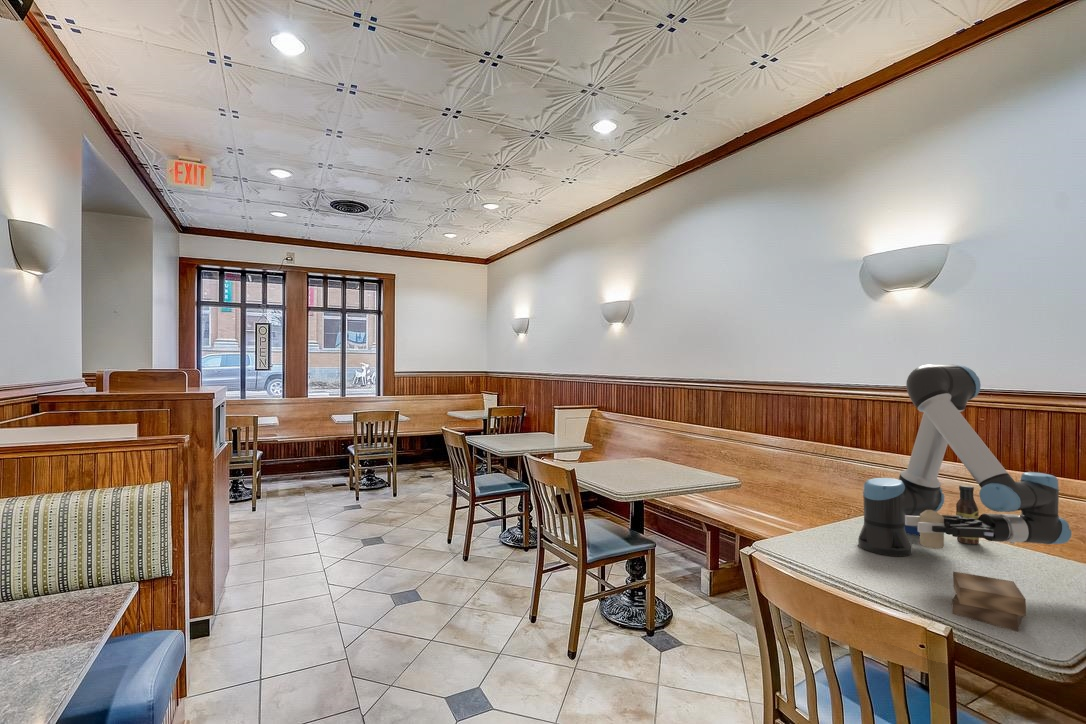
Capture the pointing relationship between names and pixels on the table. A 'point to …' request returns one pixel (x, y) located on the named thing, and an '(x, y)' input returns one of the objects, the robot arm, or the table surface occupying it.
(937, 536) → the candle
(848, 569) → the table surface
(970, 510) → the sauce bottle
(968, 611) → the tower base
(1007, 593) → the tower top
